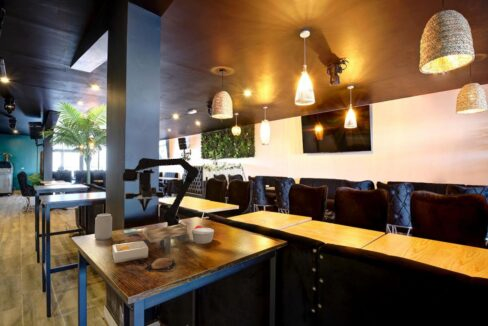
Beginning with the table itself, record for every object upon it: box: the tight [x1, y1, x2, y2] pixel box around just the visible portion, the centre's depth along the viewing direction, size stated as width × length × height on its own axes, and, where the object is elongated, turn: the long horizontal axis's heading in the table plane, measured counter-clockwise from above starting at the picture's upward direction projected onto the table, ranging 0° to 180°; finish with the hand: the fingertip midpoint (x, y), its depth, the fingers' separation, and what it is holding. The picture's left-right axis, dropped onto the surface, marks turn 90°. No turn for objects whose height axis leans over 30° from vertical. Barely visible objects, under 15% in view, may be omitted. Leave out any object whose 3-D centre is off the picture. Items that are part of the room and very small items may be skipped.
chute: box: [123, 221, 191, 244], centre depth 111 cm, size 24×24×6 cm
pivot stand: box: [158, 236, 172, 255], centre depth 107 cm, size 2×11×7 cm, turn 33°
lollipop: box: [192, 211, 210, 230], centre depth 136 cm, size 6×10×12 cm, turn 110°
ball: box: [119, 245, 130, 251], centre depth 98 cm, size 4×4×4 cm
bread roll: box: [144, 257, 179, 272], centre depth 90 cm, size 11×9×4 cm
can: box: [94, 213, 113, 241], centre depth 122 cm, size 8×8×12 cm
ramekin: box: [191, 227, 215, 245], centre depth 121 cm, size 11×11×5 cm
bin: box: [112, 240, 149, 264], centre depth 99 cm, size 12×10×4 cm
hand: (144, 211), depth 126 cm, fingers closed
